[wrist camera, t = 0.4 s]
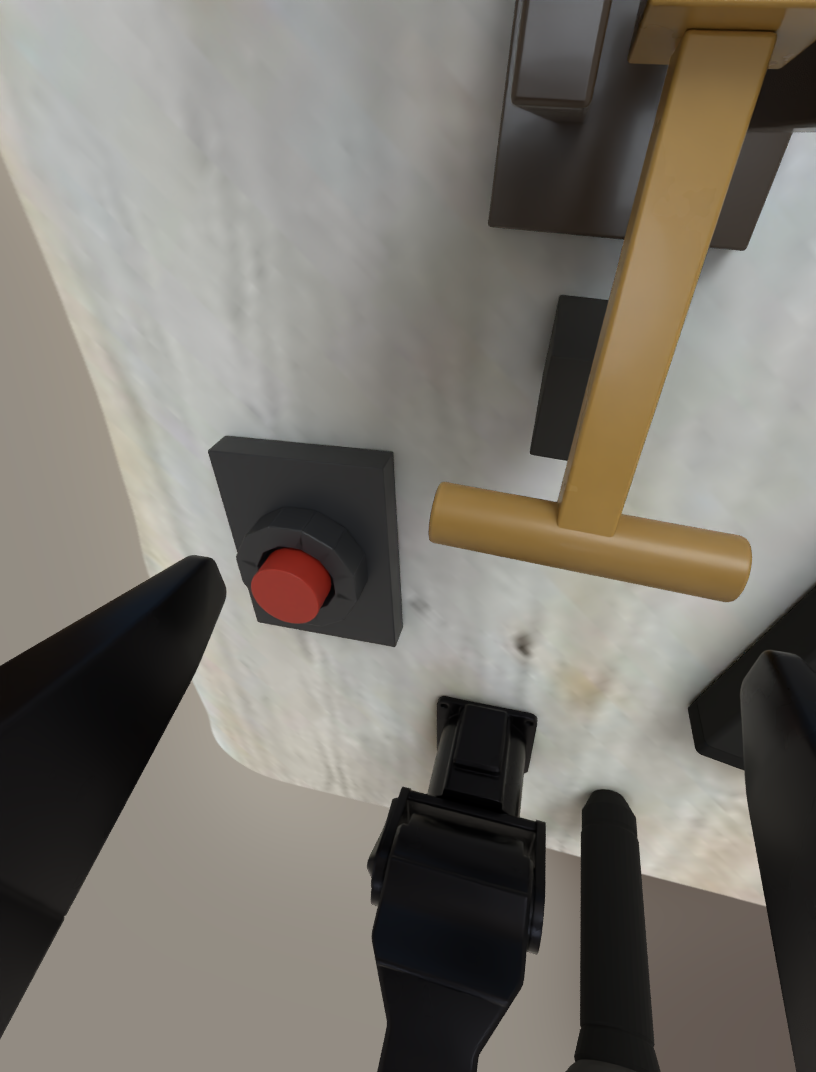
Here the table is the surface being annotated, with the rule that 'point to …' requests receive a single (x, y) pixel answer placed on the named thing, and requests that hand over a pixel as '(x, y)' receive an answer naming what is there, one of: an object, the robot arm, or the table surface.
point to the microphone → (613, 944)
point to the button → (291, 585)
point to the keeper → (566, 374)
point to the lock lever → (649, 313)
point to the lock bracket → (615, 125)
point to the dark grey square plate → (318, 526)
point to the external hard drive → (717, 711)
